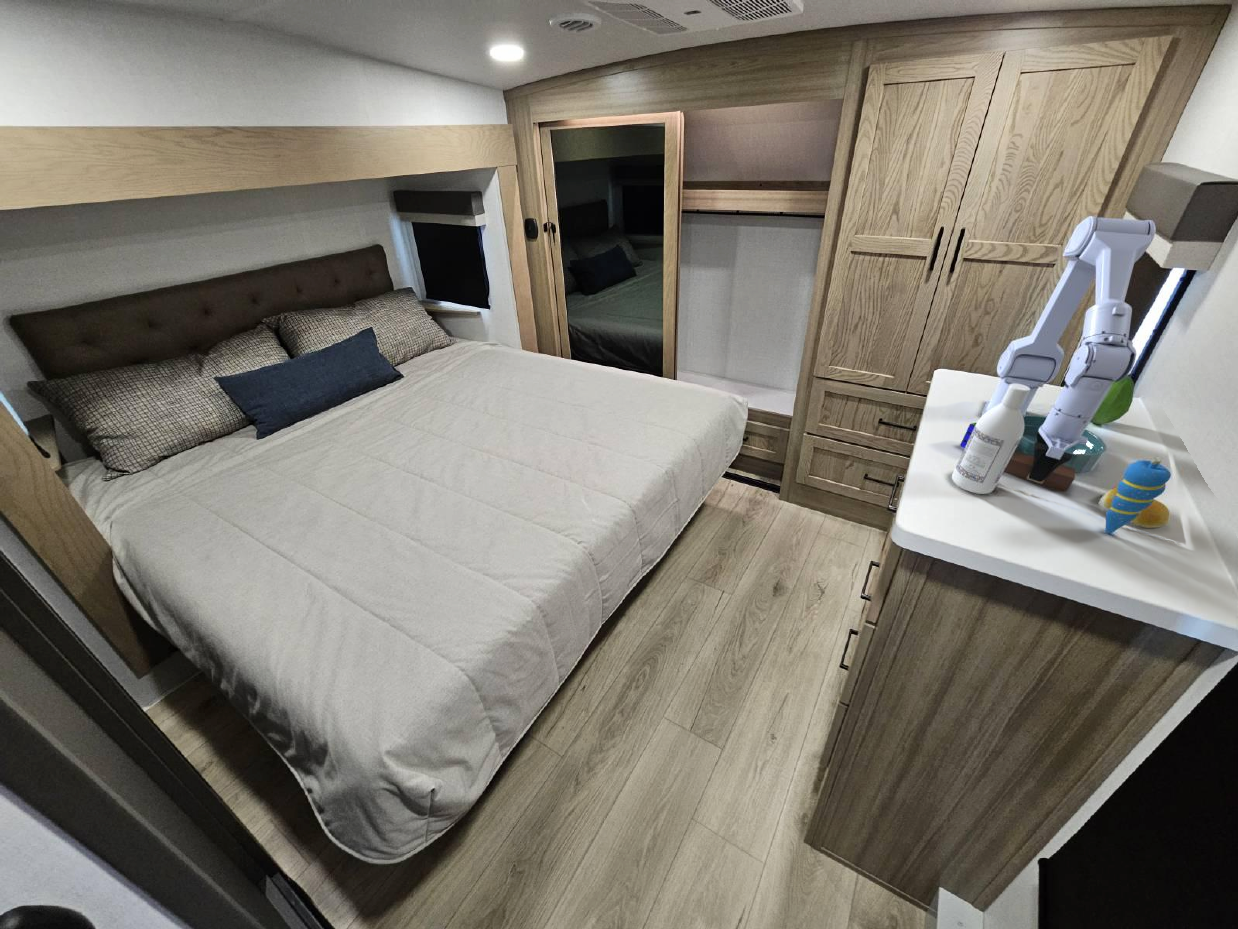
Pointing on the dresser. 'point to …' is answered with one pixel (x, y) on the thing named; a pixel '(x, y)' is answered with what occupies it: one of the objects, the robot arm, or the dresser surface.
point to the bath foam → (992, 443)
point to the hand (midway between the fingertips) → (1036, 474)
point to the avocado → (1115, 402)
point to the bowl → (1082, 454)
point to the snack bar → (1057, 479)
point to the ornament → (1136, 492)
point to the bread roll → (1148, 517)
